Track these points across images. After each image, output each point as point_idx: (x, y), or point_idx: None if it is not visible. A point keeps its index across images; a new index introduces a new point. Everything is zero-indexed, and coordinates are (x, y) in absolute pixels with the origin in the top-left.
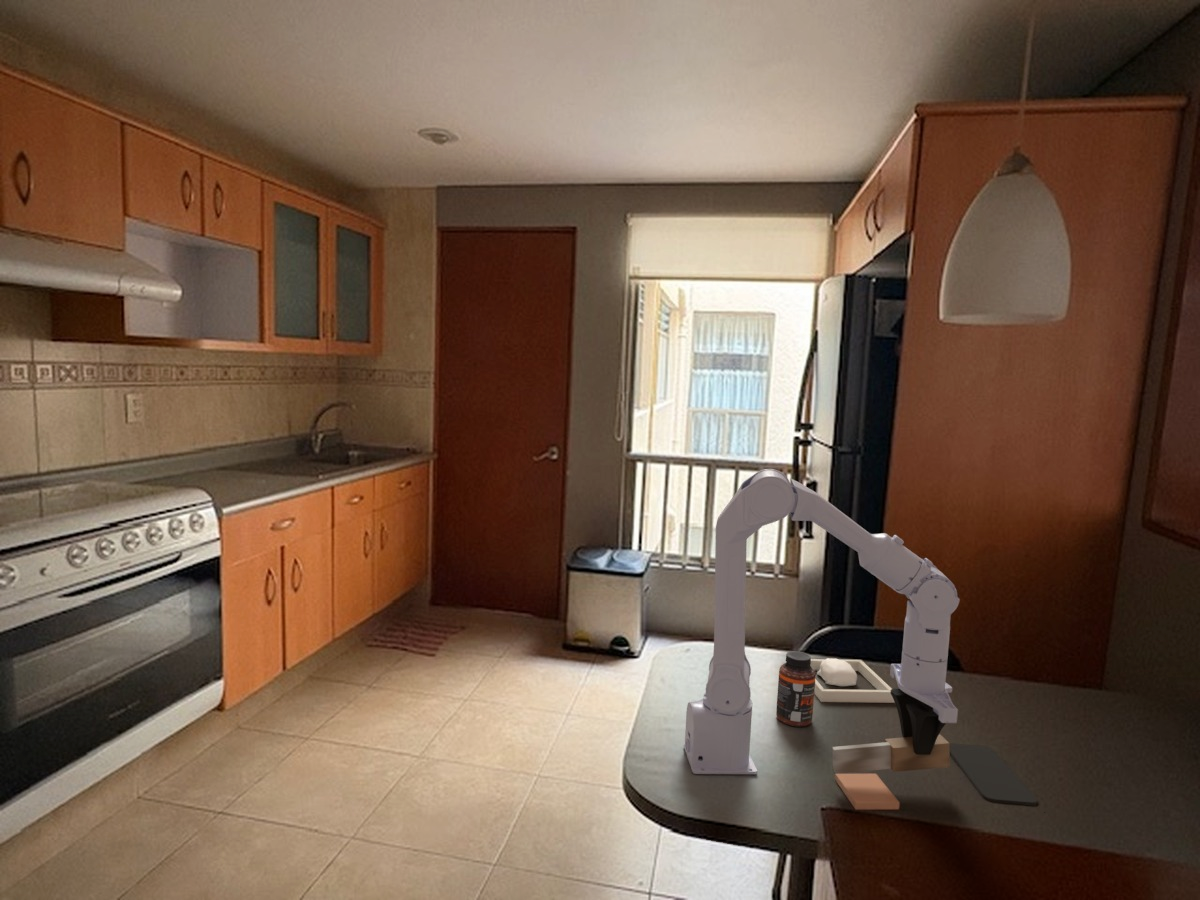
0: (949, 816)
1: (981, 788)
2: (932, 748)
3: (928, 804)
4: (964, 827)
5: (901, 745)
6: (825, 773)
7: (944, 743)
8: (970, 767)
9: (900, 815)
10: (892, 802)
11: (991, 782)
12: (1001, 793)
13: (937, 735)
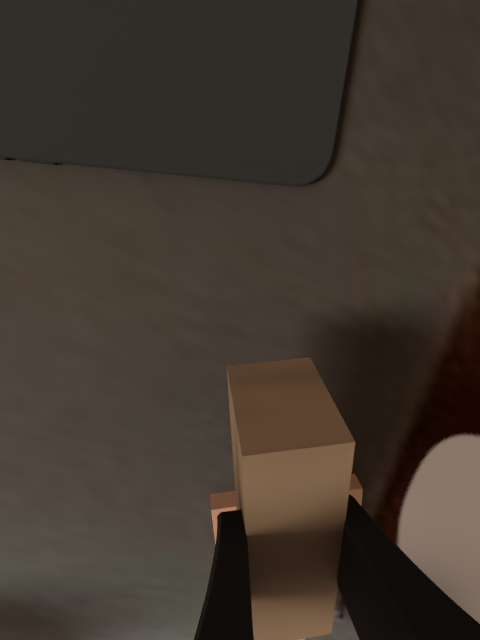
0: (397, 357)
1: (257, 165)
2: (369, 516)
3: (336, 393)
4: (449, 337)
5: (318, 611)
6: (192, 596)
7: (351, 464)
8: (85, 120)
9: (380, 477)
10: (360, 504)
11: (210, 85)
12: (293, 90)
13: (439, 591)
